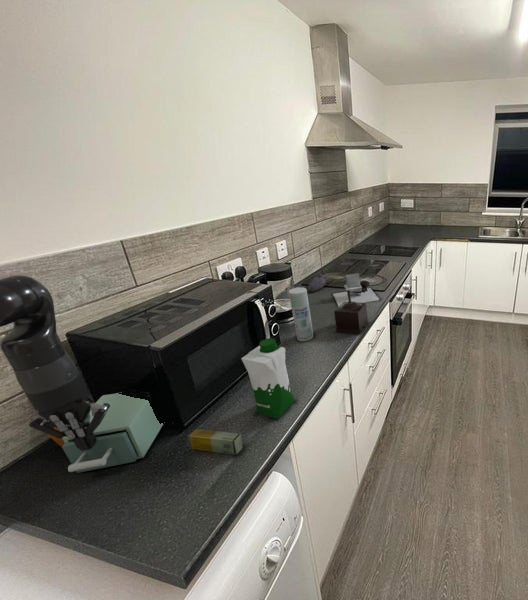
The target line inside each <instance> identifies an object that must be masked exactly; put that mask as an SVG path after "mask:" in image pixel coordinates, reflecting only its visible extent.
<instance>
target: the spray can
mask: <svg viewBox="0 0 528 600" xmlns="http://www.w3.org/2000/svg"><path fill="white" fill-rule="evenodd" d="M288 297H289V302H290V307H291V312H292V318H293V324H294V328H295V329H294V330H295V334H296V339H297V340H298V341H299V342H306V341H307V342H308V341H310V340H312V339H313V338H314V331H313V330H314V329H313V323H312V315H311V310H310V304H309V297H308V288H306V287H303V286H302V287H301V286H300V287H299V286H298V287H293V288H291V289H289V290H288Z"/></svg>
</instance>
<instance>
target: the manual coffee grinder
mask: <svg viewBox="0 0 528 600" xmlns="http://www.w3.org/2000/svg"><path fill="white" fill-rule="evenodd" d="M360 285H361V287H362V288H361V289H362V290H361V291H358V292H353V293H350V290H347V291H346V292H347V295H348V299H349V302H343V303H342V304H341V305H340V306H338V307H337V308H336V309H334V311H333V313H334V319H335V320H334V321H335V329H336V333H343V334H355V335H357V334H358V335H359V334H361V333H363V331H364V330H365V329H366V327H367V325H368V323H369V321H368V312H367V311H368V310H367V302H365V303H359V302H354V301H351V297H350V295H353V294H357V293H362V292H364V293H365V292H366V291H368V290H367V288H369V286H370V282H369V281H368V280H365V279H364V280H360Z"/></svg>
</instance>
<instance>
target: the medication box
mask: <svg viewBox="0 0 528 600" xmlns="http://www.w3.org/2000/svg"><path fill="white" fill-rule="evenodd" d="M188 437H189V442H190V448H191V450H196V451H203V452H212V453H218V454H226V455H235V456H237V455H238V454H239V453H240V452H242V450H243V448H244V446H243V441H242V434H241V433H235V432H227V431H219V430H211V429H200V428H196V429H195V430H194V431H192V432H191V433H190V434H189V435H188Z"/></svg>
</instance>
